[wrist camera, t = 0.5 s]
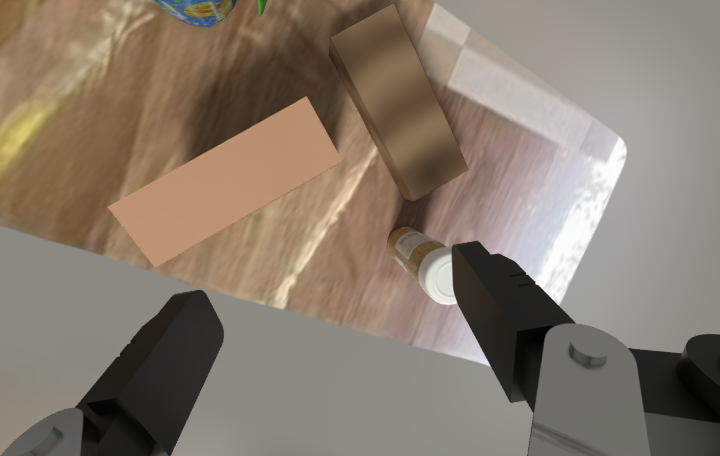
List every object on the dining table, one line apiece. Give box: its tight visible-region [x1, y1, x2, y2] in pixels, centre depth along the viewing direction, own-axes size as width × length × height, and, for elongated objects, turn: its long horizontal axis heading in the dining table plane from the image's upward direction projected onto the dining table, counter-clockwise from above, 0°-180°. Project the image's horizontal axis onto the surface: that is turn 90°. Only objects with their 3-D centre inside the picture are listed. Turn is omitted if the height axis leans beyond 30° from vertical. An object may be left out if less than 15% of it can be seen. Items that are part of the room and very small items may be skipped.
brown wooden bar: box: [329, 3, 469, 201], centre depth 32 cm, size 18×7×4 cm, turn 29°
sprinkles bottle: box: [387, 227, 457, 305], centre depth 30 cm, size 5×5×13 cm
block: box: [108, 96, 342, 267], centre depth 27 cm, size 5×16×12 cm, turn 119°
